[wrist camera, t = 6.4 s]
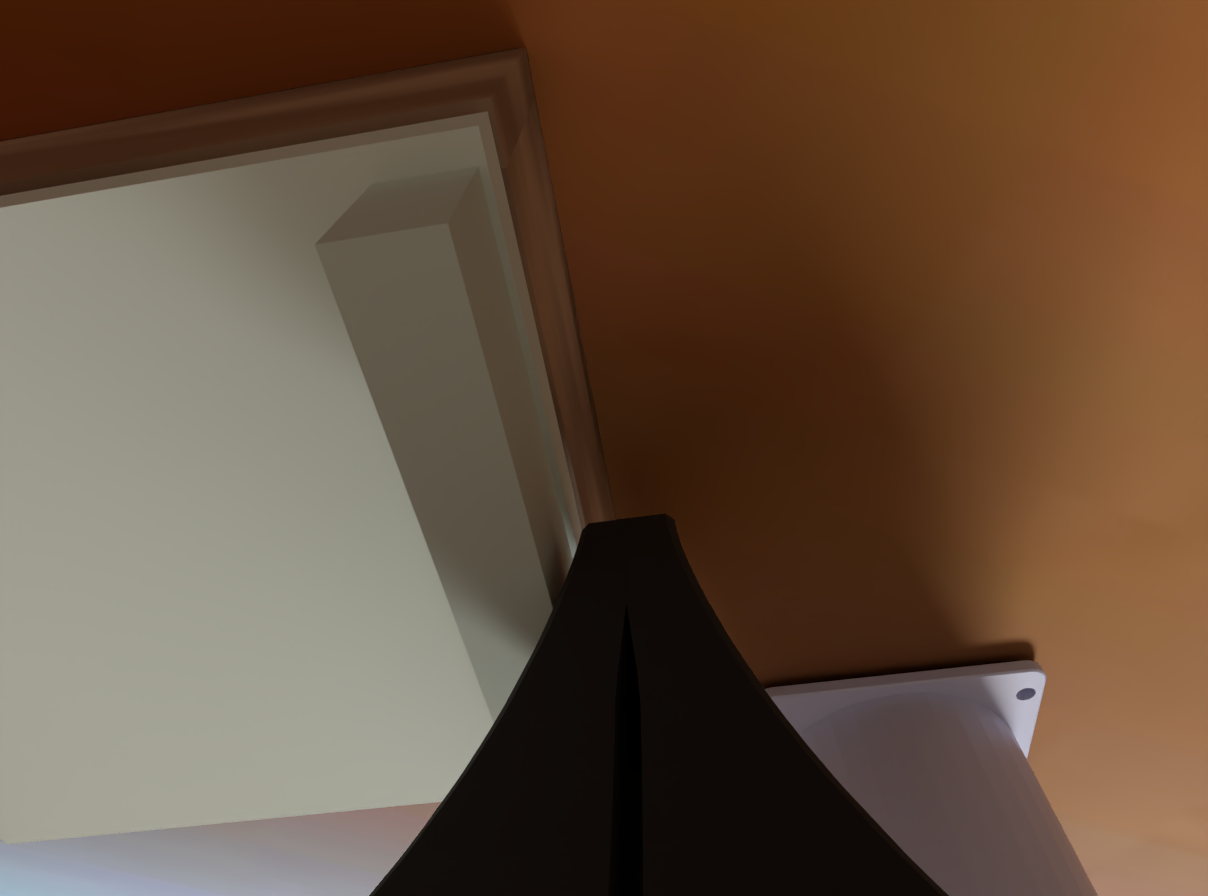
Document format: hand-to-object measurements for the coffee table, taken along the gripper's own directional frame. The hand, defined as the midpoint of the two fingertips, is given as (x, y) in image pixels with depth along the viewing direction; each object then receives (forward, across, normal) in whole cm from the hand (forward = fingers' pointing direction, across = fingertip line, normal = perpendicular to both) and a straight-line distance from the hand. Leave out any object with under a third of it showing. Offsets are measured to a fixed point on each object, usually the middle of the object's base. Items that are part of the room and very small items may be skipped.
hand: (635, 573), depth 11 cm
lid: (+1, +7, 0) cm, 7 cm away
